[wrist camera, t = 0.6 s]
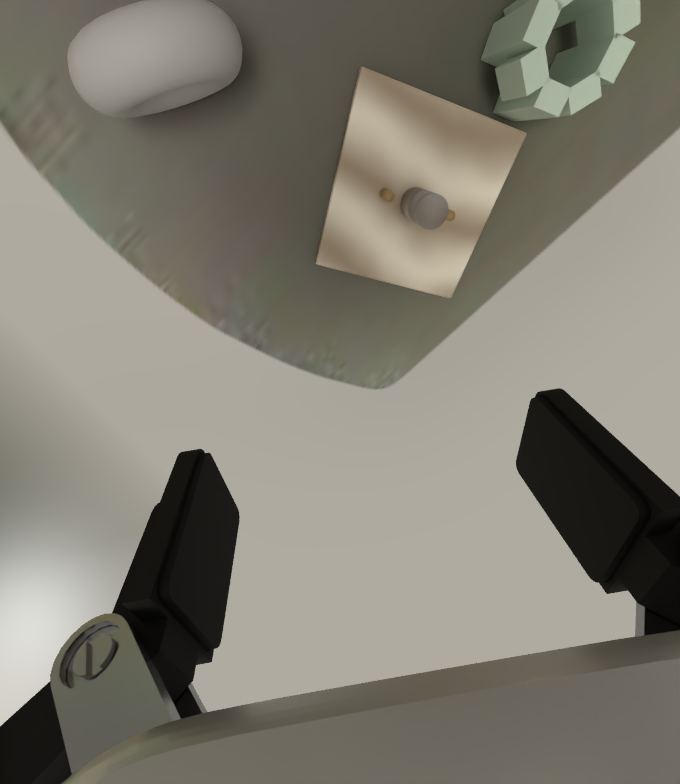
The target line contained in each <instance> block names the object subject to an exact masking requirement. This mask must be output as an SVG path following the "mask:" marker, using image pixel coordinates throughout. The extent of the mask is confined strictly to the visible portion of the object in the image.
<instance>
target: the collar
mask: <svg viewBox="0 0 680 784" xmlns="http://www.w3.org/2000/svg"><path fill="white" fill-rule="evenodd" d="M503 12H504V17H503V18H501V19H500V20H498V21H496V22H495V23H494V24H493V27H492V29H491V32H490V35H489V37H488V40H487V43H486V46H485V48H484V51H483V54H482V56H481V59H480V60H482V61H484V62H486V63H488V64H491V65H493V66H495V67H497V68H495V72H496V77H497V81H498V86H499V91H500V95H499V98H498V100H497V103H496V105H495V108H494V110H493V114H496V115H498V116H500V117H503V118H505V119H508V120H510V121H513V122H517V121H526V120H536V119H546V118H555V117H560V116H569V115H572V114H574V113H575V112H577V111H579V110H580V109H582V108H584V107H585V106H587V105H588V104H590V103H592V102H593V101H595V100H597V99H598V98H600V97H601V86H602V85H608V84H613V83H614V81H615V79H616V77H617V75H618V73H619V72H620V70H621V68H622V66H623V64H624V62H625V60H626V59H627V57H628V55H629V53H630V51H631V49H632V47H633V46H634V44H635V42H634V41H632V40H630V39H628V38H626V37H624V36H623V34H624V33H626V32H627V31H629V30H631V29H632V28H634V27H635V26H637V25H638V24H640V0H516V1H515V2H514V3H512V4H511V5H509V6H508V7H507V8H505V9H504V10H503ZM574 20H575V22H576V32H577V42H578V46H576V47H573V48H570V49H568V50H565V51H562V52H559V53H557V54H556V56H555V58H554V61H553V63H552V65H551V67H550V69H549V71H548V64H547V57H546V50H545V45H546V43H547V41H548V38H549V36H550V34H551V32H552V29H553V30H554V29H556V28H559V27H561V26H563V25H565V24H568V23H570V22H572V21H574Z"/></svg>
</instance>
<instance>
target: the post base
mask: <svg viewBox="0 0 680 784" xmlns="http://www.w3.org/2000/svg"><path fill="white" fill-rule="evenodd" d="M526 134H527V133H526V132H523V131H521V130H518V129H516V128H513V127H511V126H508V125H506V124H503V123H501V122H498V121H496V120H493V119H491V118H488V117H486V116H484V115H481V114H479V113H476V112H474V111H471V110H469V109H466V108H464V107H461V106H459V105H456V104H454V103H451V102H449V101H446V100H444V99H441V98H439V97H437V96H434V95H432V94H429V93H427V92H424V91H422V90H419V89H417V88H414V87H412V86H409V85H407V84H404V83H402V82H399V81H397V80H394V79H392V78H389V77H387V76H385V75H382V74H380V73H377V72H375V71H372V70H370V69H367V68H365V67H362V66H361V68H360V69H359V74H358V78H357V82H356V87H355V91H354V95H353V100H352V104H351V108H350V113H349V117H348V121H347V126H346V130H345V135H344V139H343V143H342V148H341V152H340V156H339V161H338V165H337V169H336V174H335V178H334V182H333V187H332V191H331V196H330V200H329V204H328V209H327V213H326V217H325V222H324V226H323V230H322V235H321V239H320V244H319V248H318V252H317V257H316V261H315V262H316V264H317V265H321V266H325V267H329V268H333V269H337V270H341V271H345V272H348V273H352V274H356V275H360V276H364V277H368V278H372V279H376V280H380V281H384V282H388V283H392V284H395V285H399V286H403V287H407V288H411V289H415V290H419V291H423V292H427V293H431V294H435V295H439V296H443V297H446V298H450V299H451V297H452V295H453V292H454V290H455V288H456V286H457V284H458V282H459V279H460V277H461V275H462V273H463V271H464V269H465V266H466V264H467V262H468V260H469V258H470V256H471V253H472V251H473V249H474V247H475V245H476V243H477V240H478V238H479V236H480V234H481V232H482V230H483V227H484V225H485V223H486V221H487V219H488V217H489V214H490V212H491V210H492V208H493V206H494V204H495V201H496V199H497V197H498V195H499V193H500V191H501V188H502V186H503V184H504V182H505V180H506V178H507V175H508V173H509V171H510V169H511V167H512V165H513V162H514V160H515V158H516V156H517V154H518V152H519V149H520V147H521V145H522V143H523V141H524V139H525V136H526Z"/></svg>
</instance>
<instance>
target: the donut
mask: <svg viewBox="0 0 680 784" xmlns="http://www.w3.org/2000/svg"><path fill="white" fill-rule="evenodd" d="M67 59H68V66H69V73H70V77H71V80H72V82H73V84H74V87H75V89H76V90H77V92H78V93H79V95H80V96H81V97H82V99H83V100H84V101H85V102H86V103H87V104H89V105H90V106H91V107H92V108H93V109H95V110H97V111H99V112H100V113H102V114H104V115H107V116H111V117H115V118H132V117H139V116H145V115H150V114H155V113H159V112H163V111H167V110H170V109H174V108H177V107H180V106H183V105H186V104H189V103H192V102H194V101H197V100H200V99H202V98H205V97H207V96H209V95H211V94H213V93H215V92H217V91H219V90H221V89H223V88H225V87H226V86H228V85H229V84H230V83H231V82H233V81H234V79H235V78H236V77H237V75H238V74H239V71H240V68H241V64H242V43H241V38H240V35H239V32H238V30H237V28H236V25H235V24H234V22H233V21H232V20H231V18H230V17H229V16H228V14H227V13H225V12H224V11H223V10H221V9H220V8H219V7H217V6H216V5H215V4H213V3H212V2H211V1H208V0H142V1H139V2H136V3H132V4H129V5H126V6H123V7H119V8H117V9H114V10H112V11H110V12H108V13H106V14H104V15H101V16H99V17H97V18H96V19H94V20H93V21H91V22H90V23H89V24H87V25H86V26H84V27H83V28H82V29H81V30H80V31H79V33H78V34H77V35H76V36H75V38H74V39H73V41H72V42H71V43H70V45H69V49H68V54H67Z"/></svg>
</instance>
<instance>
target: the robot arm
mask: <svg viewBox="0 0 680 784" xmlns="http://www.w3.org/2000/svg"><path fill="white" fill-rule="evenodd" d="M516 467H517V470H518V472H519V474H520V475H521V477H522V478H523V480H524V481H525V483H526V484H527V486H528V487H529V489H530V490H531V492H532V493H533V494H534V496H535V498H536V499H537V501H538V502H539V503H540V505H541V506H542V508H543V509H544V511H545V512H546V514H547V515H548V517H549V518H550V520H551V521H552V523H553V524H554V525H555V527H556V529H557V530H558V532H559V533H560V535H561V536H562V537H563V539H564V540H565V542H566V543H567V545H568V546H569V548H570V549H571V551H572V552H573V554H574V555H575V557H576V558H577V559H578V561H579V563H580V564H581V566H582V567H583V568H584V570H585V571H586V573H587V574H588V576H589V577H590V578H591V579H592V580H593V581H595V582H599V583H600V585H601V586H602V588H603V589H604V590H605V592H606V593H607V594H609V593H615V592H621V591H627V590H628V591H629V592H630V593H631V595H632V596H633V597H634V599H635V600H636V629H635V630H636V631H635V637H631V638H624V639H618V640H612V641H606V642H600V643H594V644H588V645H582V646H576V647H570V648H565V649H558V650H552V651H546V652H540V653H534V654H528V655H523V656H516V657H511V658H505V659H499V660H493V661H488V662H482V663H476V664H470V665H465V666H459V667H453V668H447V669H441V670H435V671H430V672H424V673H419V674H412V675H407V676H401V677H395V678H389V679H384V680H378V681H373V682H368V683H361V684H356V685H350V686H344V687H339V688H333V689H328V690H322V691H316V692H311V693H305V694H300V695H294V696H289V697H283V698H277V699H272V700H267V701H262V702H257V703H252V704H247V705H242V706H237V707H232V708H226V709H222V710H217V711H212V712H207V711H206V709H205V707H204V705H203V703H202V702H201V700H200V698H199V696H198V695H197V693H196V691H195V689H194V687H193V685H192V683H191V682H192V681H193V678H194V673H195V667H196V665H198V664H204V663H209V662H212V657H213V650H214V649H215V648H218V647H219V645H220V642H221V638H222V631H223V625H224V618H225V612H226V605H227V599H228V592H229V585H230V579H231V572H232V565H233V559H234V552H235V545H236V539H237V532H238V526H239V511H238V508H237V506H236V504H235V502H234V500H233V498H232V496H231V494H230V492H229V490H228V488H227V486H226V484H225V482H224V480H223V478H222V476H221V474H220V472H219V470H218V468H217V466H216V464H215V462H214V460H213V458H212V456H211V454H210V453H205V452H204V451H203V450H202V449H197V450H191V451H185V452H181V453H179V455H178V457H177V459H176V462H175V464H174V467H173V470H172V472H171V475H170V478H169V481H168V483H167V485H166V488H165V491H164V493H163V496H162V499H161V501H160V503H158V504H157V505H156V506H155V507H154V509H153V511H152V513H151V515H150V518H149V520H148V523H147V526H146V528H145V531H144V533H143V536H142V538H141V541H140V543H139V546H138V548H137V551H136V554H135V556H134V559H133V561H132V564H131V566H130V569H129V571H128V574H127V577H126V579H125V582H124V584H123V587H122V589H121V592H120V594H119V597H118V600H117V602H116V605H115V607H114V610H113V612H112V613H111V614H103V615H100V616H98V617H95V618H93V619H91V620H90V621H88V622H87V623H85V624H84V625H82V626H81V627H80V628H79V629H78V630H77V631H76V632H75V633H73V634H72V635H71V637H70V638H69V639H68V640H67V642H66V643H65V644H64V645H63V647H62V648H61V650H60V651H59V654H58V655H57V657H56V659H55V661H54V664H53V667H52V671H51V675H50V677H51V679H50V680H51V681H50V682H49V683H48V684H47V685H46V686H45V687H43V688H42V689H41V690H40V691H39V692H38V693H37V694H36V695H35V696H33V697H32V698H31V699H30V700H29V701H28V702H27V703H26V704H25V705H24V706H22V707H21V708H20V709H19V710H18V711H17V712H16V713H15V714H14V715H13V716H11V717H10V718H9V719H8V720H7V721H6V722H5V723H4V724H3V725H1V726H0V784H680V496H678V495H677V494H676V493H675V492H674V491H673V490H672V489H671V488H670V487H669V486H667V485H666V484H665V483H664V482H663V481H662V480H661V479H660V478H659V477H658V476H657V475H655V473H653V472H652V471H651V470H650V469H649V468H648V467H647V466H646V465H645V464H644V463H643V462H641V461H640V460H639V459H638V458H637V457H636V456H635V455H634V454H633V453H632V452H631V451H629V450H628V449H627V448H626V447H625V446H624V445H623V444H622V443H621V442H620V441H619V440H617V439H616V438H615V437H614V436H613V435H612V434H611V433H609V431H608V430H607V429H606V428H605V427H603V426H602V425H601V424H600V423H599V422H598V421H597V420H596V419H595V418H594V417H593V416H591V415H590V414H589V413H588V412H587V411H586V410H585V409H584V408H583V407H582V406H581V405H580V404H578V403H577V402H576V401H575V400H574V399H573V398H572V397H571V396H570V395H569V394H568V393H566V392H565V391H564V390H562V389H559V388H558V389H553V390H547V391H541V392H538V393H537V394H536V396H535V398H532V399H531V401H530V405H529V409H528V413H527V417H526V422H525V426H524V430H523V434H522V438H521V443H520V447H519V451H518V455H517V460H516Z"/></svg>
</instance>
